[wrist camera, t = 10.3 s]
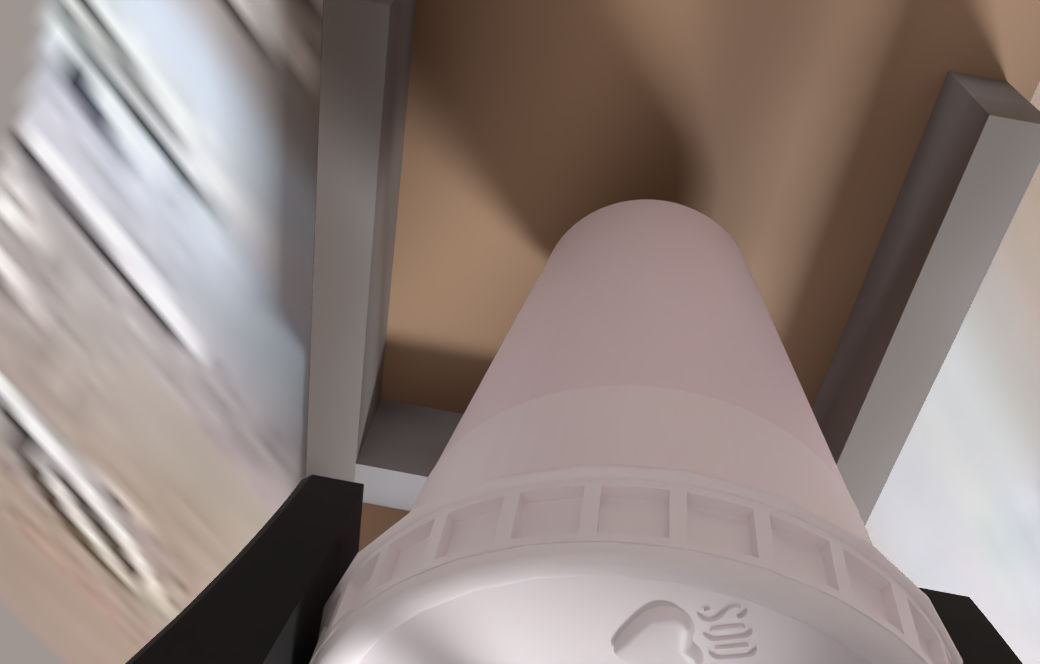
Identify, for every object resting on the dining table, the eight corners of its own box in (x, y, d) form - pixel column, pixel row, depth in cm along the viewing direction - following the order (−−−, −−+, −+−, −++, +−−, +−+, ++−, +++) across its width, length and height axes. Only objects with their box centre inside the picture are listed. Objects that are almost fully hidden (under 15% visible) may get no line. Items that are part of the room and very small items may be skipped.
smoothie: (396, 256, 17) (-210, 1367, 5) (695, 39, 15) (803, 1295, 3) (607, 487, 19) (508, 1651, 7) (902, 334, 17) (1476, 1768, 5)
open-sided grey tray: (1088, -81, 15) (1362, 31, 9) (742, 697, 26) (772, 969, 20) (350, -214, 15) (179, -185, 10) (311, 616, 26) (220, 864, 20)
